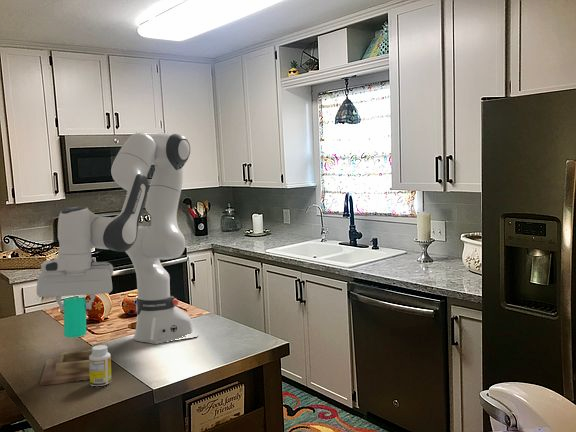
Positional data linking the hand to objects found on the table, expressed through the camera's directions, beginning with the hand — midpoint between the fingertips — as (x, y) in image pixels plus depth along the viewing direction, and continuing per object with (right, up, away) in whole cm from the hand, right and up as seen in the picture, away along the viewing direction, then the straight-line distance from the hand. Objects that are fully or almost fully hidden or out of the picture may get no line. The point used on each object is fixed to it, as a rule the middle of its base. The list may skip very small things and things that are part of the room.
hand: (75, 310), depth 150 cm
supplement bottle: (+10, -19, -9) cm, 23 cm away
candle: (0, -7, 0) cm, 7 cm away
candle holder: (0, -18, +1) cm, 18 cm away
